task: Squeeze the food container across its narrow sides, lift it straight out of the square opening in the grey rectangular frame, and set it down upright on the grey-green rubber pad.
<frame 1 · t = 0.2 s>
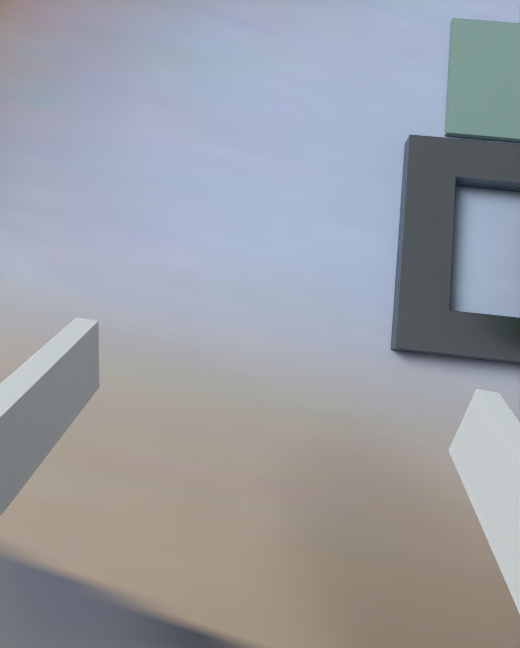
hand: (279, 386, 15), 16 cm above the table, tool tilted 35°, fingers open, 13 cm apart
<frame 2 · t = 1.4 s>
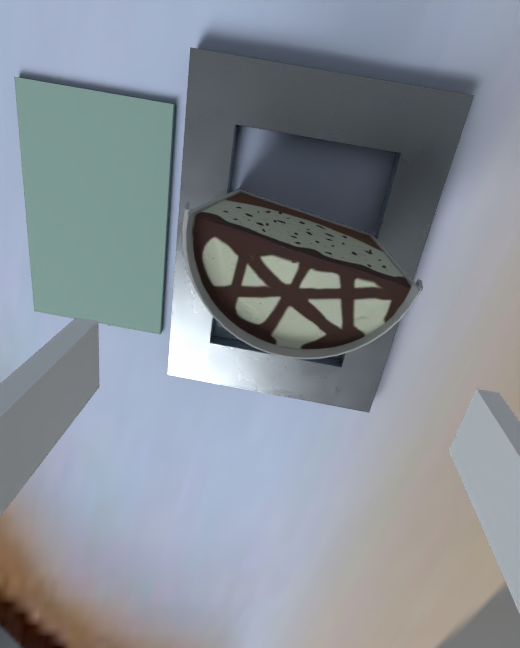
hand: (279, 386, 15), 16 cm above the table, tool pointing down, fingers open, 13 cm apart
pad: (98, 218, 30), on the table
grey rectangular frame: (294, 254, 30), on the table
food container: (290, 253, 30), resting in grey rectangular frame
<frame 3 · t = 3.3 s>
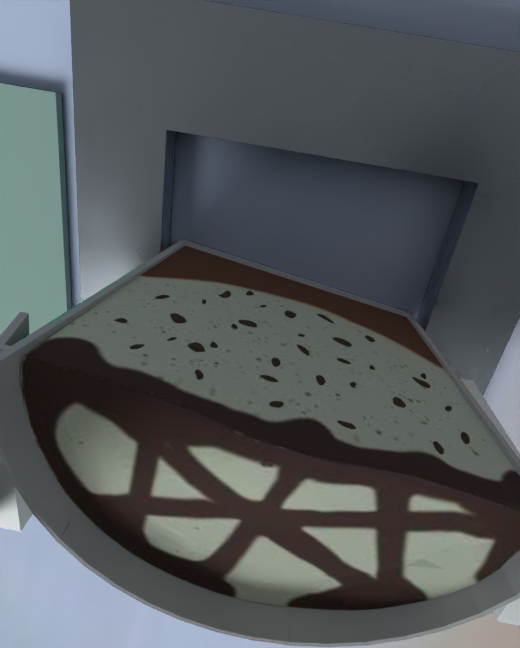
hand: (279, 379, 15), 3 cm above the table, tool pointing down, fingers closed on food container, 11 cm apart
grey rectangular frame: (282, 343, 18), on the table
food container: (274, 340, 18), resting in grey rectangular frame, touching gripper
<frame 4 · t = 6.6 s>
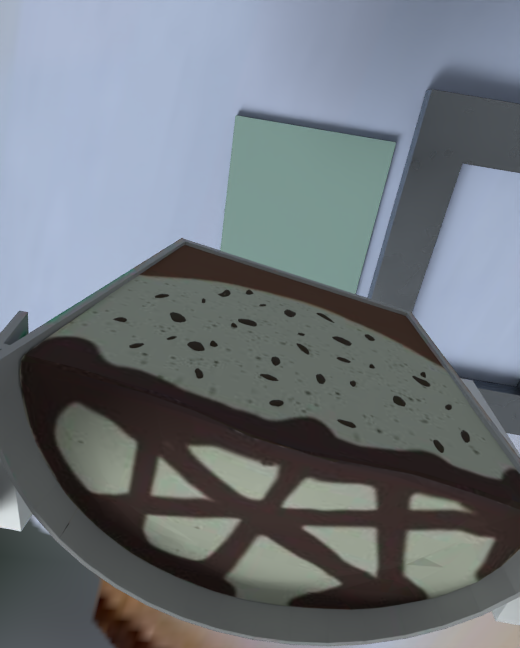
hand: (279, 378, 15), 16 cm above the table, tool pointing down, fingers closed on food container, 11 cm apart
pad: (292, 251, 30), on the table
grey rectangular frame: (489, 286, 30), on the table
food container: (273, 339, 18), point 14 cm above the table, touching gripper
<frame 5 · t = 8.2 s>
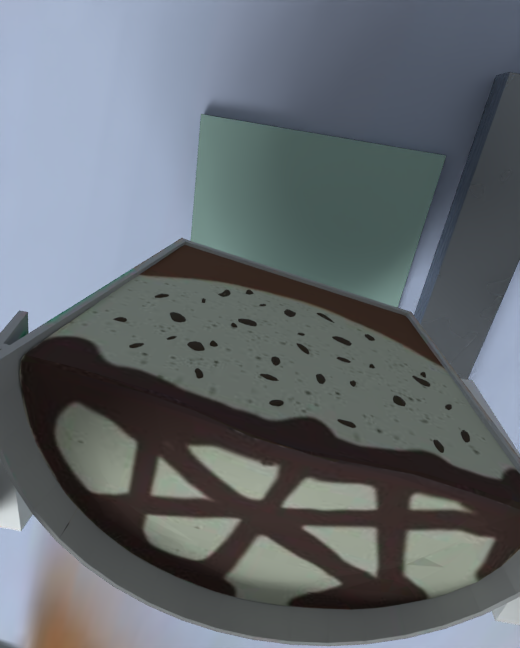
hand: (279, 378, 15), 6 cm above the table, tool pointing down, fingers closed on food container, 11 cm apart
pad: (287, 309, 21), on the table
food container: (273, 339, 18), point 3 cm above the table, touching gripper
when the fingers open (5 cm above the table, at t = 9.7 s): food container drops 1 cm, resting on pad.
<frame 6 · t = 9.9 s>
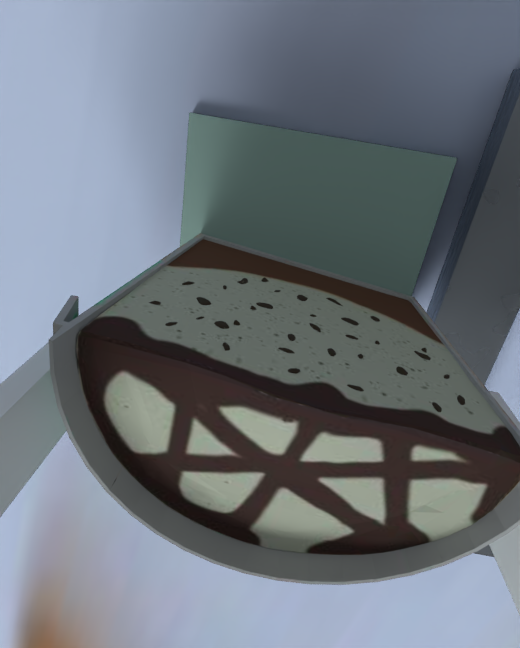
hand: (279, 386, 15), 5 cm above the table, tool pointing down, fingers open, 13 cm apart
pad: (284, 323, 20), on the table
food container: (286, 325, 20), resting on pad
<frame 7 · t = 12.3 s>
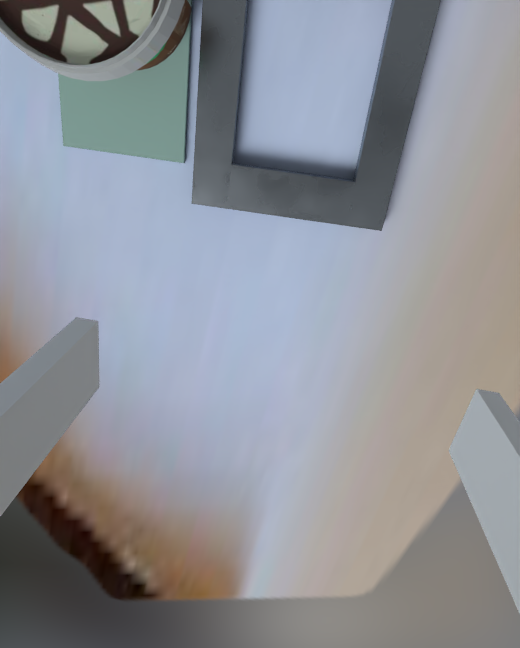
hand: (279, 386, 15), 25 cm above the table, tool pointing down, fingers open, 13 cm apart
pad: (123, 40, 32), on the table
grey rectangular frame: (309, 66, 32), on the table
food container: (124, 40, 32), resting on pad
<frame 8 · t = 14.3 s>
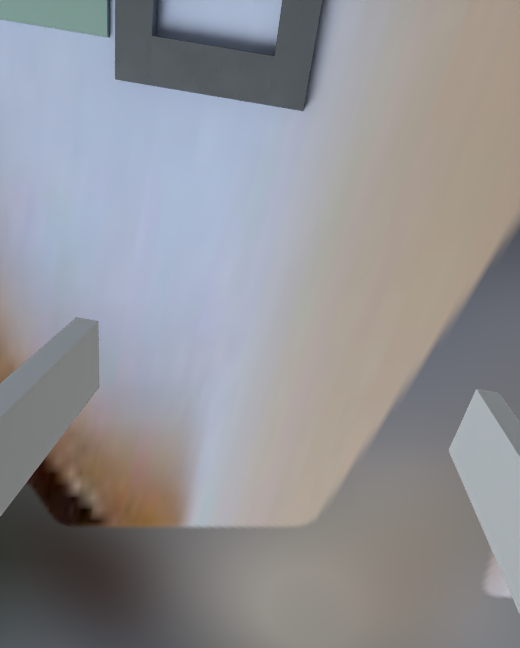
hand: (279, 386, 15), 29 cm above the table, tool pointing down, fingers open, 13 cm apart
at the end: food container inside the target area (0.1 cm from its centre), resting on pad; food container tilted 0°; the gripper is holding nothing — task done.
